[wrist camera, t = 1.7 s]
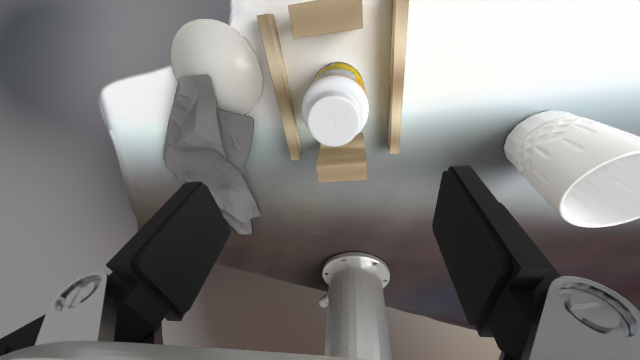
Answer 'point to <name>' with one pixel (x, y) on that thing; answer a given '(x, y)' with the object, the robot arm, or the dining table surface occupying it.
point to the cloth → (211, 149)
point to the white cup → (579, 167)
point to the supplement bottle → (335, 105)
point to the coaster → (219, 63)
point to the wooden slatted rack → (324, 18)
